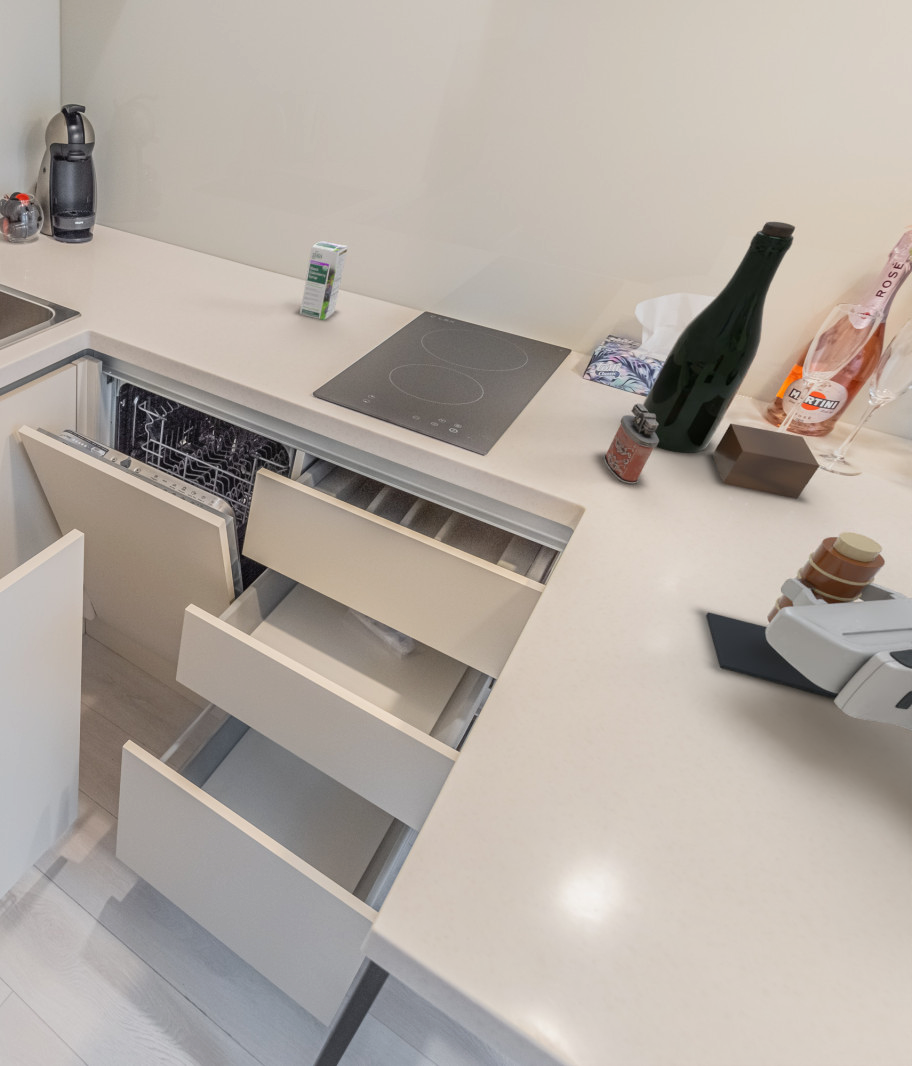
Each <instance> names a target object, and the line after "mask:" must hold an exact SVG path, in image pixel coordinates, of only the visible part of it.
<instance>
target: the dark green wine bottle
mask: <svg viewBox="0 0 912 1066" xmlns="http://www.w3.org/2000/svg"><path fill="white" fill-rule="evenodd" d="M795 229H796V226H795V225H793V224H790V223H786V222H781V221H767V222H765V224H764V225H763V226H762V229H761V230H758V231H757V232H756V233H755V234H754V235H753V236H752V238H751V239H750V242H749V246H748V248H747V250H746V252H745V254H744V256H743V258H742V259H741V261H740V263H739V265H738V266H737V268H736V269H735V271H734V273H733V274H732V276H731V278H730V279H729V280H728V282H727V283H726V285H725V286H724V287H723V288H722V290H721V291H720V292H719V293H718V295H716V296H715V298H714V299H713V300H712V301H711V302H710V303H708V305H706V306H705V307H704V308H703V309H702V310H701V311H700V312H699V313H698V314H697V315H696V316H695V317H694V318H693V319H692V320H691V321H689V323H688V324H687V325H686V327H684V329H683V330H682V332H681V333H680V334H679V336H678V337H677V339H676V340H675V343H674V344H673V346H672V348H671V350H670V351H669V353H668V355H667V357H666V358H665V360H664V362H663V364H662V366H661V368H660V370H659V371H658V374H657V376H656V377H655V379H654V381H653V384H652V385H651V386H650V389H649V391H648V393H647V395H646V397H645V398H644V400H643V402H642V403H641V404H642V405H643V406H644V407H645V408H646V409H647V410H648V412H649V413H652V414H655V415H656V422H657V423H658V426H657V428H656V430H655V431H654V432H655V433H656V435H657V437H658V439H659V442H658V444H657V446H656V447H655V448H659V449H663V450H666V451H669V452H670V451H671V452H675V453H685V454H694V453H699V452H702V451H703V450H705V449H706V448H707V447H708V445H709V444H710V442H711V441H712V439H713V437H714V435H715V434H716V432H717V430H718V428H719V427H720V425H721V423H722V421H723V419H724V417H725V416H726V414H727V412H728V410H729V408H730V406H731V404H732V403H733V401H734V399H735V397H736V396H737V393H738V392H739V390H740V387H741V386H742V384H743V382H744V380H745V378H746V376H747V375H748V372H749V370H750V369H751V367H752V364H753V362H754V360H755V358H756V356H757V353H758V350H759V347H760V343H761V338H762V329H763V317H764V309H765V303H766V299H767V295H768V292H769V290H770V287H771V284H772V282H773V280H774V278H775V276H776V273H777V271H778V269H779V267H780V265H781V264H782V261H783V260H784V258H785V256H786V254H787V253H788V251H789V250H790V249H791V247H792V245H793V243H794V236H793V233H794V232H795Z"/></svg>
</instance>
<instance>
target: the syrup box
mask: <svg viewBox="0 0 912 1066" xmlns="http://www.w3.org/2000/svg"><path fill="white" fill-rule="evenodd" d="M348 248H349V247H348V245H344V244H338V243H333V242H329V241H326V240H325V241H324V240H321V241H318V242H316V243H315V244H313V245H312V246H311V248H310V255H309V261H308V265H307V271H306V277H305V284H304V290H303V293H302V294H303V295H302V300H301V305H300V310H299V315H303V316H306V317H310V318H315V319H319V320H322V321H325V320H326V319H328V318H329V317H331V316H332V315H333V314H334V313H335V310H336V305H337V301H338V295H339V291H340V286H341V282H342V277H343V271H344V266H345V262H346V256H347V252H348Z"/></svg>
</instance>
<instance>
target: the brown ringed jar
mask: <svg viewBox="0 0 912 1066" xmlns="http://www.w3.org/2000/svg"><path fill="white" fill-rule="evenodd" d="M882 551H883V547H882V545H880V543H879V542H877V541H876V540H874V539H872V538H870V537H868V536H866V535H863V534H860V533H856V532H850V531H849V532H848V531H845V532H841V533H840V534H839V535H838V536H829V537H825V538H823V540H821V542H820V544H819V545H818V546H817V548H815V551H813V552H811V553H810V554H809V555H808V557H807V558H808V560H807V562H805V564H804V565H803V566H802V567H800V568H799V569H797V570H798V571H797V573H796V576H795V578H803V579H806V580H807V582H809V583H811V584H812V585H813V586H815V587H816V589H815V590H814V592H813V595H814V596H815V598H816V599H817V600H818V599H822V600H824V601H825V602H827V603H828V604H835V603H849V602H856V601H857V600H860V599H859V598H860V597H861V595H862V591H863V590H864V589H865V587H866V586H867V585H869V584H871V583H874V582H875V577H876V575H877V574H878V573H879V572H880V571H881V569H882V568H883V567H884V566H885V563H886V561H885V558H884V556H882V555H881V552H882ZM792 602H793V601H791V600H790V599H789V598H788V597H786V596H785V595H784V594H783V593H782V595H781V596H779V597H778V598H777V599H776V600H775V604H774V606H773V607H772V609H771V610H769V613H767V616H766V617H767V619H766V620H767V621H768V623H770V622H771V621H772V619H773V618H774V617H775V615H776V614H777V613H778V612H779V611H780V610H781V609H782V608H784V607H791V606H793V603H792Z"/></svg>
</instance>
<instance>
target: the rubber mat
mask: <svg viewBox="0 0 912 1066" xmlns="http://www.w3.org/2000/svg"><path fill="white" fill-rule="evenodd" d="M706 620H707V624H708V628H709V631H710V634H711V639H712V643H713V646H714V650H715V653H716V658H717V661H718V665H719V668H720V669H724V670H728V671H732V672H735V673H739V674H742V675H746V676H749V677H753V678H756V679H760V680H764V681H768V682H771V683H775V684H779V685H782V686H786V687H790V688H793V689H796V690H797V689H798V690H801V691H805V692H808V693H812V694H814V695H815V694H816V695H820V696H823V697H827V698H830V699H833V700H835V698H836V697H837V695H838V694H839V693H833V692H830V691H828V690H825V689H823V688H821V687H819V686H818V685H816V684H814V683H813V682H811V681H810V680H809V679H807V678H806V677H805V676H804V675H803V674H801V673H800V672H799V671H798V670H797V669H796V668H794V667H793V666H792V665H791V664H790V663H789V662H788V661H786V660H785V659H784V658H783V657H782V656H781V655H780V654H779V653H778V652H777V651H776V650H775V649H774V648H773V647H772V646H771V645H770V644H769V643H768V641H767V639H766V634H765V630H766V628H767V626H765V625H759V624H756V623H753V622H748V621H744V620H740V619H736V618H733V617H728V616H726V615H725V616H724V615H720V614H717V613H712V612H709V611H708V612H707V613H706Z"/></svg>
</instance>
